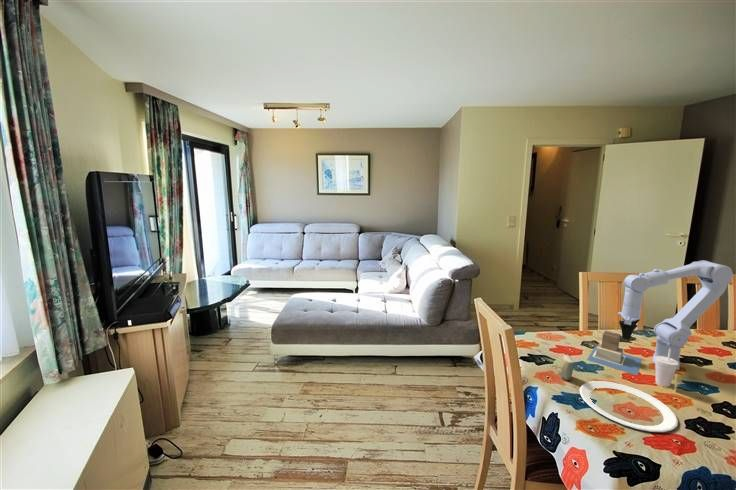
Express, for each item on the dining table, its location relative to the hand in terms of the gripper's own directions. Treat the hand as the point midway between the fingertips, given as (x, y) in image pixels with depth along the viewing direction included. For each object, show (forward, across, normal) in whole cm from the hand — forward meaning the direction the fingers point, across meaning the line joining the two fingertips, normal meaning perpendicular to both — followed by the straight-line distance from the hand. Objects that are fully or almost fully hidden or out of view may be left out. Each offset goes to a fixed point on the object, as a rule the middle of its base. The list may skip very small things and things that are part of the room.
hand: (627, 336), depth 129 cm
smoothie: (+10, +12, +12) cm, 20 cm away
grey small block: (+11, +32, -14) cm, 36 cm away
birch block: (+10, +3, -4) cm, 11 cm away
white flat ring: (+11, +36, +4) cm, 38 cm away
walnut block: (+6, +3, -5) cm, 8 cm away
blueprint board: (+10, +4, -2) cm, 11 cm away
